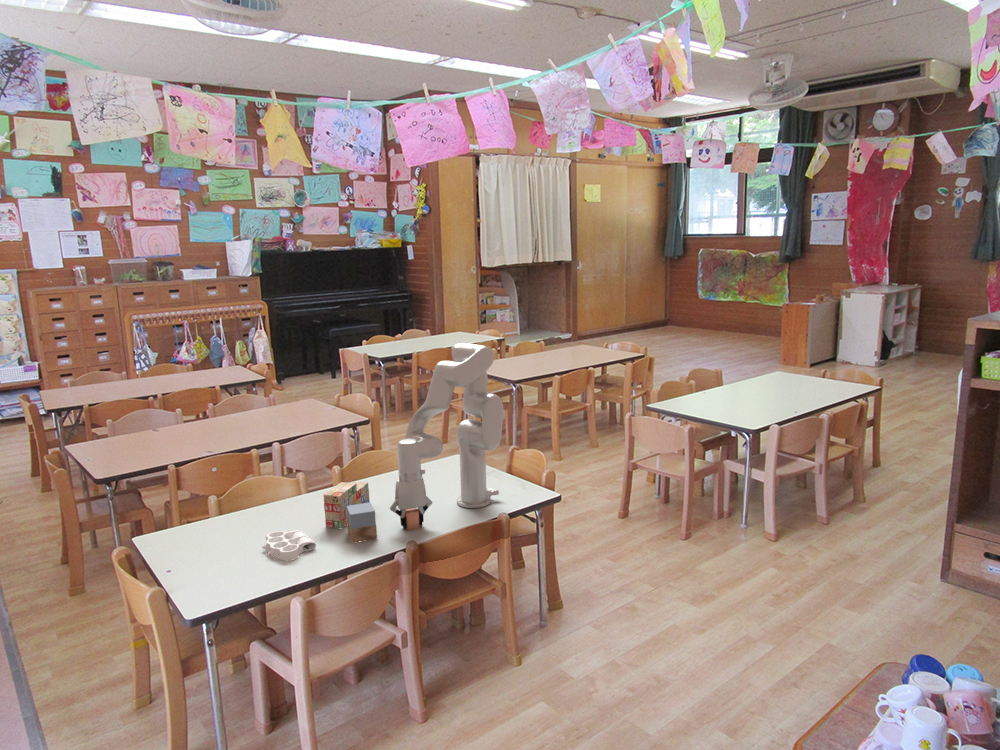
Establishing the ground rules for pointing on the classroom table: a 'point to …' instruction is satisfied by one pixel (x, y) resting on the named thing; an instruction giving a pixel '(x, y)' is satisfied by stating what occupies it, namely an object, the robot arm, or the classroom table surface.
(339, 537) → the classroom table surface
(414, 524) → the terracotta cylinder
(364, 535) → the tower base
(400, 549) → the classroom table surface
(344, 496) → the stack of blocks
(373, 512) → the tower top
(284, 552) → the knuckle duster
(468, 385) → the robot arm
